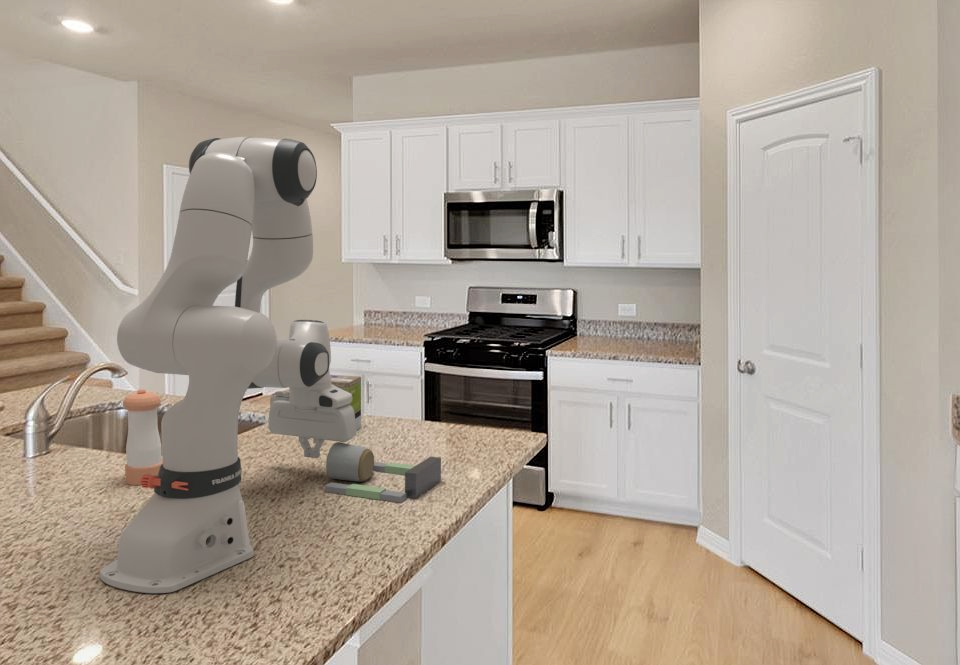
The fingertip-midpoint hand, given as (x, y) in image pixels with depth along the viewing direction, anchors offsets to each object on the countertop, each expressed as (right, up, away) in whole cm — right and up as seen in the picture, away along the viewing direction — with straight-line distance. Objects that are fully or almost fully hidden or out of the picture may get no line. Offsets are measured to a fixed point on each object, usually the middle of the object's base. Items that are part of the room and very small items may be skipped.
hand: (311, 457), depth 151 cm
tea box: (-4, 0, +38) cm, 38 cm away
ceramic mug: (+9, -4, -3) cm, 11 cm away
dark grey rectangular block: (+25, -5, -9) cm, 27 cm away
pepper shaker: (-33, -4, -6) cm, 34 cm away
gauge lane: (+17, -4, -6) cm, 18 cm away
